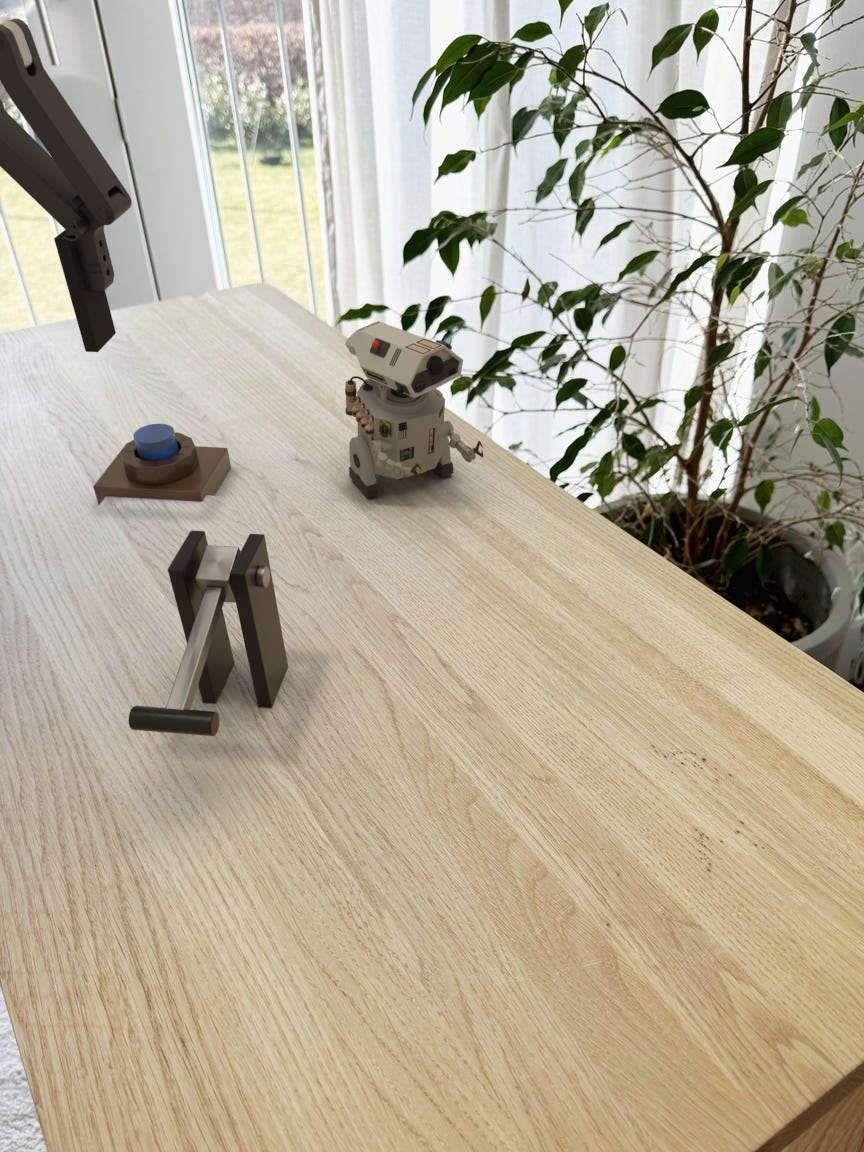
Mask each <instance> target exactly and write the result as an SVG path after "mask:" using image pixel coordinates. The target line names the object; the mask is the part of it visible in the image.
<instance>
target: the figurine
mask: <svg viewBox="0 0 864 1152" xmlns="http://www.w3.org/2000/svg"><path fill="white" fill-rule="evenodd" d="M344 345H345V347H346V348H347V349H348V351H349V353H350V354H351V355H353V356H356V359H357V361H358V364H359V367H360V369H361V370H362V372H363V374H364V376H365V377H366V379H364V378H363V377H361V376H359V375H358V376H357V375H356V376H355V375H354V376H351V378H350V379H348V380H346V381H345V388H344V394H345V414H346V415H347V416H350V417H354V418H355V421H356V423H357V436H354V437H351V438H350V441H349V449H348V450H349V453H348V455H349V467H348V476H349V478H350V479H351V480H352V482H353V484H355V485H356V487H357V488H359V490H360V491H361V493H362V495H365V498H366V499H369V498H372V497H377V496H378V495H380V494H381V492H380V487H379V483H378V482H377V477H376V475H379V476H382V477H386V478H390V479H394V480H399V479H403V478H408V477H412V476H415V477H416V478H417V479H418V480H419V481H420V480H421V479H422V478H423V477H424V476H426V475H425V473H426V472H428V471H431V470H435V472H436V473H437V474H439V476H440V478H444V477H448V476H452V474H455V472H454V471H455V470H454V463H453V462H452V459H451V448H452V449H456V450H457V451H458V452H459V454H461V457H462V458H463V460H464V461H466V463H469V464H470V463H472V462H473V461H474V460H476V457H477V456H476V455H478V456H479V457H480V458H482V459H483V458H484V452H483V450H481V451H480V447H481V449H484V446H483V444H482V442H481V441H480V440H478V441H477V444H476V446H475V447H471V446H469V445H467V444H466V443H465V442H464V441H462V440H461V439H462V437H461V435H460V434H459V433H455V431H454V426H453V423H452V422H451V421H450V420H445V410H446V399H445V397H444V393H442V392H441V391H440V389H438V388H440V387H442V386H444V385H446V384H448V383H449V382H452V381H453V380H455V379H457V378H460V377H461V376H462V370H463V365H464V359H463V358H462V357H460V356H459V355H458V354H457V353H455V352H454V351H453V350H452V348H453V346H452V345H451V344H450V343H449V342H447V341H445V340H439V339H436V340H435V341H434V340H431V339H429V338H426V337H423V336H420V335H417V334H415V333H412V332H409V331H407V330H404V329H401V328H399V327H396V326H394V325H391V324H387V323H385V322H383V321H379V320H376V321H375V322H372V323H370V324H368V325H366V326H363V327H360V328H358V329H356V330H355V331H354V332H353V333H352V334H351V335H350V336H349V337H348V338H347V339H346V341H345V344H344ZM354 379H358V380H360V381H362V384H361V385H360V387H359V389H358V390H357V382H356V381H355V380H354ZM449 439H450V440H449ZM472 460H473V461H472ZM423 473H424V474H423ZM420 474H422V475H420Z"/></svg>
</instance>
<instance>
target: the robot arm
mask: <svg viewBox="0 0 864 1152" xmlns="http://www.w3.org/2000/svg"><path fill="white" fill-rule="evenodd" d="M0 82H1V85H2V86H3V89H4V90H5V92H6V93H7V95H8V96H9V98H10V100H11V101H12V103H13V104H14V105H15V107H16V108H17V110H18V111H19V113H20V114H21V115H22V117H23V118H24V120H25V121H26V122H27V124H28V126H29V127H30V128H31V130H32V131H33V133H34V134H35V135H36V137H37V138H38V139H39V141H40V142H41V144H42V146H41V145H40V143H38V142H37V141H36V139H34V138H33V137H32V136H31V135H30V134H29V132H27V131H26V130H25V128H23V127H22V126H21V125H20V124H19V123H18V122H17V121H16V120H15V119H14V117H12V116H11V115H10V114H9V113H8V112H7V110H6V109H5V104H4V102H3V100H2V99H1V98H0V168H1V169H2V170H3V171H4V172H5V173H6V174H8V176H9V177H11V178H12V179H13V181H14V182H15V183H16V184H17V185H19V186H20V188H22V189H23V190H24V191H25V192H26V193H27V194H28V195H29V196H30V197H31V198H32V199H33V200H34V201H35V202H36V203H37V204H38V205H39V206H40V207H42V208H43V210H45V211H46V212H47V213H48V214H49V215H50V216H51V217H52V218H53V219H54V220H55V221H56V222H57V223H58V224H59V225H60V226H61V227H62V228H63V229H64V230H62V232H60V234H58V235H57V236H55V237H54V238H53V240H54V244H55V248H56V250H57V255H58V258H59V262H60V265H61V269H62V272H63V276H64V279H65V284H66V287H67V290H68V294H69V297H70V301H71V305H72V307H73V311H74V316H75V320H76V323H77V325H78V329H79V333H80V337H81V341H82V343H83V347H84V351H85V352H86V353H99V352H100V351H101V350H102V349H103V348H104V346H106V345H107V344H108V343H109V341H110V340H111V339H112V338H113V337H114V336H115V335H116V334H117V332H116V328H115V323H114V320H113V316H112V312H111V308H110V305H109V300H108V296H107V292H106V290H107V289H108V288H109V287H110V286H111V285H112V284H113V283H114V281H115V280H114V279H115V271H114V266H113V264H112V258H111V254H110V250H109V246H108V243H107V238H106V234H105V226H109V225H112V224H113V223H114V222H115V221H117V220H118V219H120V218H121V216H123V215H124V214H125V213H126V212H127V211H129V210H130V209H131V207H132V197H131V196H130V194H129V192H128V191H127V189H126V188H125V186H124V185H123V184H122V182H121V181H120V178H118V176H117V175H116V173H115V172H114V170H113V168H112V167H111V166H110V164H109V162H108V161H107V160H106V158H105V157H104V155H103V154H102V152H101V151H100V150H99V147H97V145H96V143H95V142H94V141H93V139H92V138H91V136H90V134H89V133H88V132H87V130H86V129H85V127H84V126H83V124H82V123H81V121H80V120H79V119H78V117H77V115H76V113H74V111H73V109H72V108H71V107H70V105H69V104H68V101H66V99H65V98H64V96H63V95H62V93H61V92H60V90H59V89H58V87H57V86H56V84H55V82H54V81H53V79H52V78H51V77H50V75H49V74H48V72H47V71H46V69H45V68H44V65H43V63H42V60H41V57H40V54H39V51H38V48H37V46H36V43H35V40H34V37H33V34H32V31H31V29H30V27H29V26H28V24H27V23H26V22H25V21H24V20H22V19H20V18H17V17H16V18H12V19H8V20H6V21H4V22H0ZM43 146H44V148H43Z"/></svg>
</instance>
